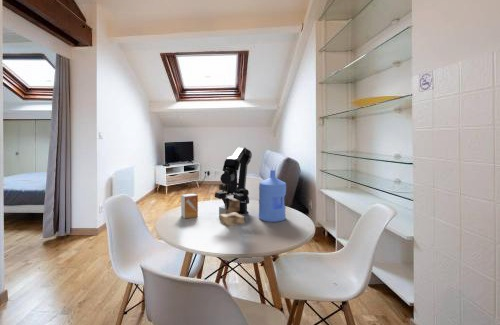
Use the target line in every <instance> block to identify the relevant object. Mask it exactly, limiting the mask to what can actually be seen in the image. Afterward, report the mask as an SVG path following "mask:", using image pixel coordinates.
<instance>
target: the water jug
mask: <svg viewBox="0 0 500 325" xmlns="http://www.w3.org/2000/svg"><path fill="white" fill-rule="evenodd" d="M269 171H270V173H269V174H270V176H269V178H266V179H263V180H262V181H260V182H259V184H258V197H259V198H258V218H259V219H260V220H261V221H264V222H268V223H278V222H283V221H284V220H286V215H287V214H286V205H285V196H286V194H287V183H286V182H285V181H283V180H281V179H279V178H277V176H276V172H277V171H276V169H275V170H272V169H271V170H269Z"/></svg>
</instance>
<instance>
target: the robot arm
mask: <svg viewBox="0 0 500 325" xmlns="http://www.w3.org/2000/svg"><path fill="white" fill-rule="evenodd" d="M252 156H253V155H252V151H251V150H250V149H248V148H246V147H245V146H237V147H236V150H235V151H234V153H233V154H232V155H230V156H228V157H226V159H225V160H224V162H223V168H222V171H223V173H222V174H221V175H220V182H221V184H219V185H218V190H219V191H216V192H215V193H214V198H215V199H219V200H222V201H223V204H224V205H225V207H226V210H228V204H229V199H230V198H228V197H229V196H233V197H232V198H235V199H237V200H240V211H238V212H237V213H239V214H240V215H244V214H249V211H248V204H250V197H249V195H250V192H249V190H248V189H246V188H247V187H246V184H247V174H248V165H249V164H250V162H251V159H252ZM238 172H239V174H238Z"/></svg>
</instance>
